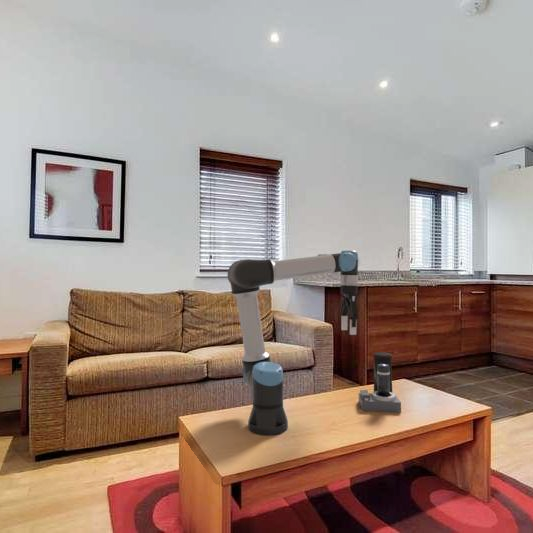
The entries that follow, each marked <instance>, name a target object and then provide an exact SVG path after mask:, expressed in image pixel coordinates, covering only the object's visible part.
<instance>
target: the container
mask: <svg viewBox="0 0 533 533" xmlns="http://www.w3.org/2000/svg"><path fill="white" fill-rule="evenodd" d="M372 357H373V392H374V391H378V374H377V365H378V364H387V365H389V371H390V374H389V378H390V392H391V393H393V377H392V376H393V375H392V370H393V369H392V358H393V355H392V354H391V353H390V352H386V351H385V352H382V351H380V352H374V353H373V354H372Z"/></svg>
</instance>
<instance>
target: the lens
mask: <svg viewBox="0 0 533 533" xmlns="http://www.w3.org/2000/svg"><path fill="white" fill-rule="evenodd" d="M377 374H378V396H382V397H389V396H390V378H389V374H390V371H389V365H387V364H378V365H377Z"/></svg>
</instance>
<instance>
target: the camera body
mask: <svg viewBox="0 0 533 533" xmlns="http://www.w3.org/2000/svg"><path fill="white" fill-rule="evenodd" d="M359 391H360V392H358V404H359V406H360V409H361V411H363V412H383V413H384V412H390V413H391V412H392V413H402V402H401V401H400V399H399V397H398V396H397V395H396V394H395V393H393V392H392V393H391V392H390V396H389V397H382V396H378V391H374V390H373V392H370V393H369V391H368V390H367V389H360V390H359Z"/></svg>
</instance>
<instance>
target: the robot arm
mask: <svg viewBox="0 0 533 533" xmlns="http://www.w3.org/2000/svg"><path fill="white" fill-rule="evenodd" d="M339 272H340V294H342V295H341V304H340V309H339V310H340V312H339V314H340V315H341V317H340V318H341V320H340V321H341V324H340V326H341V327H340V328H341V331H348V326H349V335H350V336H354V335H355V336H356V335H357V319H359V310H358V305H357V304H358V303H357V296H354V295H357V294H358V293H359V291H358V288H359V287H358V283H359V282H358V281H359V276H358V275H359V274H358V273H359V255H358V251H357V250H341V252H339V253H338V252H337V253H329V254H327V253H322V254H321V253H320V254H317V255H315V256H308V257H307V256H306V257H305V256H304V257H298V258H289V259H281V260H274V261H273V260H272V259H269V258H268V259H246V258H245V259H239V260H236V261H234V262H233V263H231V265H230V266H229V268H228V270H227V273H226V274H227V280H228V282H229V284H230V287H231V294H232V296H234V297H235V299H236V303H237V311H238V316H239V317H238V318H239V322H240V323H239V324H240V330H241V337H242V344H243V349H244V350H243V352H244V355H243V356H242V358H241V360H242V368H241V373H242V378H243V380H244V382H245V383H246V384H247V385H248V386H249V387H250V389H251V390H252V408H251V412H250V415H249V419H248V423H247V425H248V427H247V429H248V430H249V431H251V432H252V433H254V434H257V435H263V436H265V435H266V436H272V435H278V434H283V433H284V432H285V431H287V430H288V427H289V423H288V417H287V414H286V411H285V408H284V373H283V372H284V371H283V370H284V369H283V367H282V366H281V365H280V364H279V363H275V362H272V361H271V356H270V355H271V354H270V353H269V352H267V351H266V348H265V338H264V332H263V327H262V320H261V314H260V307H259V300H258V293H259V292H260V290H261V289H260V287H262V286H266V285H272V284H274V283H275V282H277V281H281V280H288V279H289V280H291V279H295V278H296V279H297V278H303V277H310V276H317V275H324V274H332V273H339ZM348 320H349V323H348ZM348 324H349V325H348Z"/></svg>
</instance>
